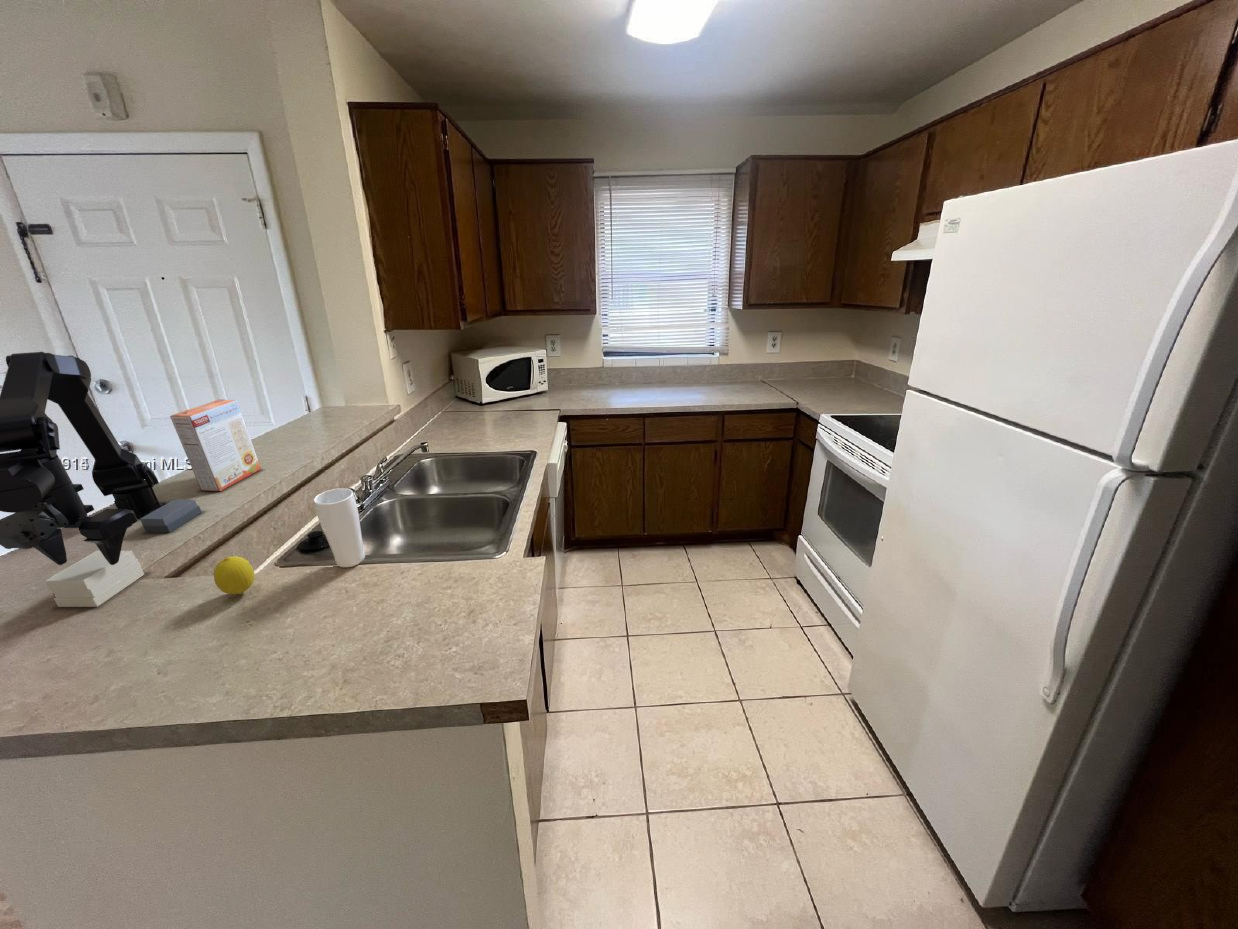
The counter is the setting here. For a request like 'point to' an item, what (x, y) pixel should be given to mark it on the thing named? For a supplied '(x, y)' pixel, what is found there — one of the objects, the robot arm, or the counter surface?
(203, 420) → the cracker box
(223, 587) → the lemon
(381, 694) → the counter surface
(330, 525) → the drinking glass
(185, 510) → the grey books
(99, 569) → the ivory book
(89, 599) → the ivory books
